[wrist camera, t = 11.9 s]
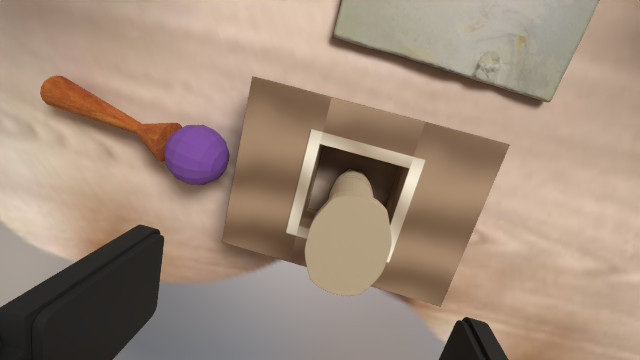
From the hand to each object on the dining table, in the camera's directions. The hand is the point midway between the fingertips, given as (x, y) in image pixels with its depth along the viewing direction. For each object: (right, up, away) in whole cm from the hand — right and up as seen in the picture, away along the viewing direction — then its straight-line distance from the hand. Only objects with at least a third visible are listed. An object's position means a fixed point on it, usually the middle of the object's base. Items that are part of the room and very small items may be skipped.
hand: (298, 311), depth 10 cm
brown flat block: (+4, +4, +23) cm, 24 cm away
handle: (+4, +4, +23) cm, 24 cm away
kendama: (-18, +10, +25) cm, 32 cm away
